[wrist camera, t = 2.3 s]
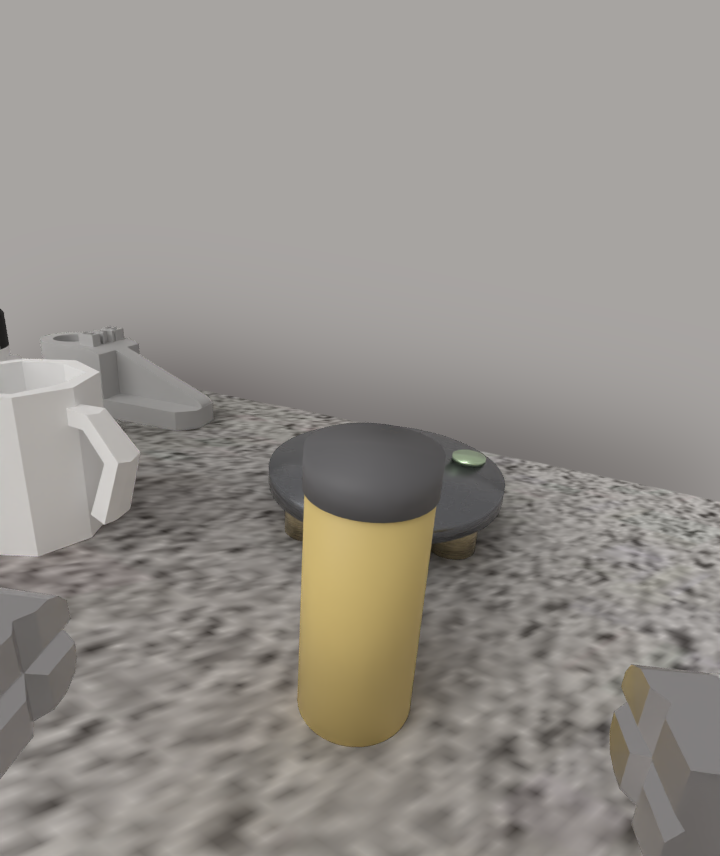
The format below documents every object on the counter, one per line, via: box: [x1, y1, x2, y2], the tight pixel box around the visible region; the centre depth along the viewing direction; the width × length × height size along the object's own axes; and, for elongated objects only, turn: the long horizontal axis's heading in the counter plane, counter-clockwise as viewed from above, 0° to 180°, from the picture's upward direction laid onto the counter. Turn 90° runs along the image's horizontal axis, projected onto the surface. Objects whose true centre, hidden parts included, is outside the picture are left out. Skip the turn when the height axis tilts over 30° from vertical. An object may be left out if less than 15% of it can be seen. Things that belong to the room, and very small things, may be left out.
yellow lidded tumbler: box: [297, 423, 446, 747], centre depth 22 cm, size 5×5×12 cm
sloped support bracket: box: [40, 326, 214, 431], centre depth 55 cm, size 6×18×8 cm, turn 73°
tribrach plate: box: [269, 426, 505, 559], centre depth 38 cm, size 16×16×4 cm
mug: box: [0, 359, 140, 557], centre depth 34 cm, size 12×9×10 cm
